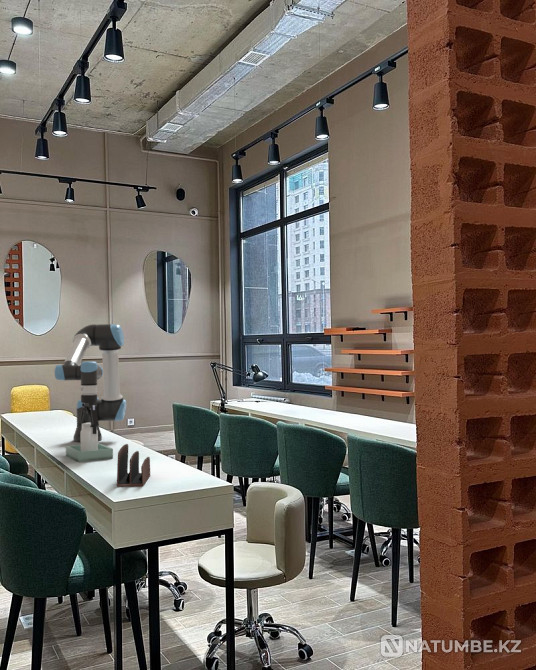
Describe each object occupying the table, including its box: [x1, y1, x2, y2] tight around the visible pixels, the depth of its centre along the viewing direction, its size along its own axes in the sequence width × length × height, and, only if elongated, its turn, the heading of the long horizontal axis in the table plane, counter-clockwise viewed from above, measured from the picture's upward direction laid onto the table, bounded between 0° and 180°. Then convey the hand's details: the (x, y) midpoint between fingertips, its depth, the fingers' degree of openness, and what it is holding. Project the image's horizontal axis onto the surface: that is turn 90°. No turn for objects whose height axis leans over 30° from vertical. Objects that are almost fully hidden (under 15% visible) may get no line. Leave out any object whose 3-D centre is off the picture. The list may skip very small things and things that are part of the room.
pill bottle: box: [80, 423, 99, 451], centre depth 307 cm, size 8×8×15 cm
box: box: [65, 442, 114, 463], centre depth 307 cm, size 20×16×4 cm
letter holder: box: [116, 443, 151, 488], centre depth 254 cm, size 10×20×14 cm, turn 2°
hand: (89, 439), depth 307 cm, fingers open, 13 cm apart
